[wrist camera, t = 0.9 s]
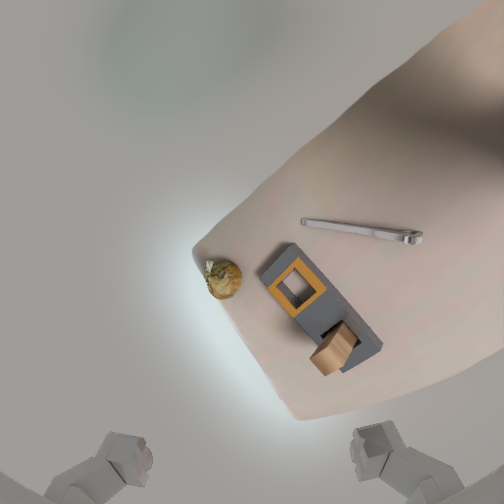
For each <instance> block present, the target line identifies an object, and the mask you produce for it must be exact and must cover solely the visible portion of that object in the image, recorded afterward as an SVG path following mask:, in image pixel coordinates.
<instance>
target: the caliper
mask: <svg viewBox="0 0 504 504" xmlns="http://www.w3.org/2000/svg"><path fill="white" fill-rule="evenodd" d="M302 225H306V226H311V227H318V228H325V229H331V230H338V231H344V232H351V233H357V234H363V235H370V236H374V237H378V238H384V239H389V240H395V241H401V242H403V241H404V244H407V243H410V244H411V245H414V244H420V243H421V242H422V236H423V233H422V232H420V231H419V232H418V233H416V234H411V231H412V230H405V231H395V230H391V229H384V228H372V227H365V226H358V225H351V224H344V223H337V222H330V221H322V220H313V219H302Z"/></svg>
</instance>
